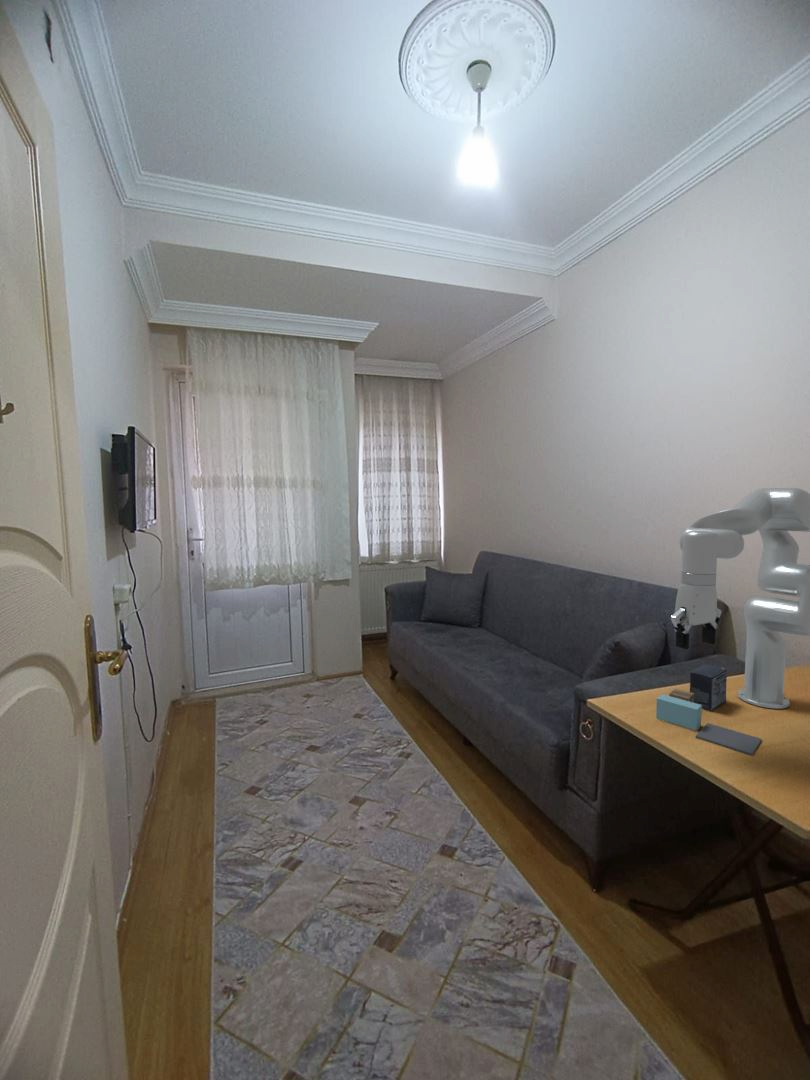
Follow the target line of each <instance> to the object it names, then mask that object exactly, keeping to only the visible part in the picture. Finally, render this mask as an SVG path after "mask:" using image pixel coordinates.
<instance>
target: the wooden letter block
mask: <svg viewBox="0 0 810 1080" xmlns="http://www.w3.org/2000/svg"><path fill="white" fill-rule="evenodd" d="M668 696H670V697H674V698H678V699H681V700H685V701H689V702H692V703H694V693H691V692H690V691H686V690H684V689H683V690H682V689H679V688H674V689H673V690H672V691H670V692H669V694H668Z"/></svg>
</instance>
